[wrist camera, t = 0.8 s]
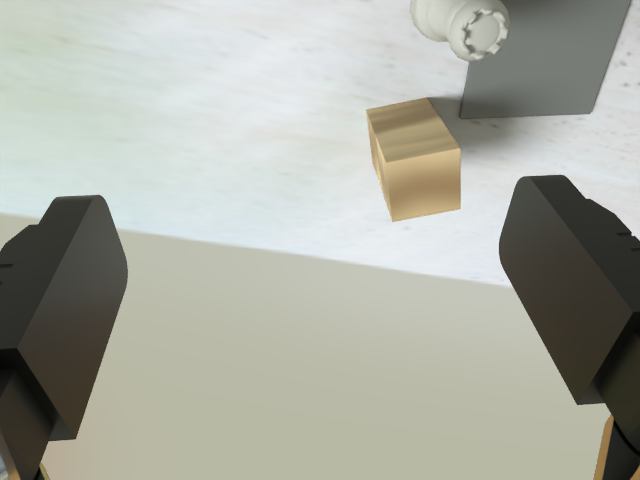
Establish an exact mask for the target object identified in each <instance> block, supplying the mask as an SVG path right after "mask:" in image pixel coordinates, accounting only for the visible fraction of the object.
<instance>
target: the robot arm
mask: <svg viewBox="0 0 640 480" xmlns="http://www.w3.org/2000/svg"><path fill="white" fill-rule="evenodd" d="M631 233H632V232H631V231H630V230H629V229H628V228H627V227H626V226H625V225H624V224H623V222H622V221H621V220H620V219H619V218H618V217H617V216H616V215H615V214H614V213H612V212H611V211H609V210H607V209H606V208H604V207H602V206H601V205H599V204H598V203H596V202H594V201H593V200H591V199H586V198H585V197H584V196H583V195H582V194H581V193H580V192H579V190H578V189H577V188H576V187H575V186H574V185H573V184H572V183H571V181H570V180H569V179H568V178H567V177H566V176H564V175H546V176H525V177H522V178H520V179H519V181H518V182H517V184H516V186H515V189H514V192H513V196H512V199H511V202H510V206H509V209H508V213H507V216H506V219H505V223H504V226H503V229H502V233H501V236H500V241H499V256H500V261H501V264H502V267H503V269H504V271H505V273H506V274H507V276H508V278H509V280H510V282H511V284H512V286H513V287H514V289H515V291H516V293H517V295H518V297H519V298H520V300H521V302H522V304H523V306H524V308H525V310H526V311H527V313H528V315H529V317H530V319H531V320H532V322H533V324H534V326H535V328H536V330H537V331H538V333H539V335H540V337H541V339H542V341H543V343H544V344H545V346H546V348H547V350H548V352H549V354H550V356H551V357H552V359H553V361H554V363H555V365H556V367H557V369H558V370H559V372H560V374H561V376H562V378H563V379H564V381H565V383H566V385H567V387H568V389H569V391H570V392H571V394H572V396H573V398H574V400H575V402H576V403H577V405H583V404H598V403H605V404H606V405H607V407H608V409H609V411H610V412H611V415H610V417H609V418H608V420H607V421H606V423H605V427H604V431H603V435H602V441H601V445H600V450H599V455H598V460H597V465H596V470H595V474H594V479H593V480H640V241H639V240H638V239H637V238H636V237H635V236H632V235H631ZM127 278H128V269H127V261H126V257H125V254H124V251H123V248H122V245H121V242H120V239H119V236H118V233H117V231H116V228H115V225H114V222H113V219H112V216H111V213H110V211H109V208H108V205H107V203H106V201H105V199H104V198H103V197H102V196H100V195H86V196H64V197H56V198H55V199H54V200H53V201H52V203H51V204H50V206H49V208H48V209H47V211H46V213H45V214H44V216H43V217H42V219H41V221H40V222H39V224H38V225H29V226H28V227H26V228H25V229H23V230H22V231H21V232H20V233H18V234H17V235H16V236H14V238H12V239H11V240H9V241H8V242H7V243H6V244H5V245H4V246H3V248H2V250H1V251H0V480H50V478H49V476H48V473H47V471H46V469H45V467H44V466H43V464H42V463H41V460H42V457H43V454H44V452H45V449H46V446H47V444H48V441H58V440H71V439H76V436H77V434H78V431H79V428H80V424H81V422H82V419H83V416H84V413H85V410H86V407H87V403H88V400H89V397H90V395H91V392H92V389H93V385H94V383H95V380H96V376H97V374H98V371H99V367H100V364H101V361H102V358H103V355H104V352H105V349H106V346H107V343H108V340H109V337H110V334H111V331H112V328H113V325H114V322H115V319H116V316H117V313H118V310H119V307H120V304H121V301H122V298H123V295H124V292H125V289H126V285H127Z"/></svg>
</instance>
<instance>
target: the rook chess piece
mask: <svg viewBox="0 0 640 480" xmlns="http://www.w3.org/2000/svg"><path fill="white" fill-rule="evenodd" d="M410 13H411V17H412V20H413V23H414V26H415V27H416V28H417V29H418V30H419V31H420V32H421V34H422V35H425V36H426V37H427V38H429V39H432V40H434V41H437V42H448V41H449V43H450V47H451V50H452V51H453V52H454V53H455V54H456V56H457V57H458V58H461V59H463V60H466V61H480V60H486V59H485V58H487V57H489V56H491V55H492V54H493V55H494V56H495V55H496V54H497V53H498V52H499V51H500V50H501V49H502V48H501V45H502V44H503V42H504V40H505V39H508V36H509V31H510V29H509V25H510V20H509V14H508V10H507V9H506V7H505V6H504V5H503V3H502V2H501V1H499V0H411V6H410Z"/></svg>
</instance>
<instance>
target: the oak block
mask: <svg viewBox="0 0 640 480" xmlns="http://www.w3.org/2000/svg"><path fill="white" fill-rule="evenodd" d="M366 114H367V122H368V129H369V137H370V145H371V153H372V160H373V165H374V168H375V171H376V174H377V177H378V180H379V183H380V186H381V189H382V192H383V195H384V198H385V201H386V204H387V207H388V210H389V213H390V216H391V219H392V222H395V221H401V220H406V219H411V218H416V217H421V216H427V215H432V214H437V213H442V212H448V211H453V210H458V209H461V180H460V147H459V145H458V144H457V142H456V141H455V139H454V138H453V136H452V135H451V133H450V131H449V130H448V128H447V127H446V125H445V124H444V122H443V121H442V119H441V118H440V116H439V115H438V113H437V112H436V110H435V109H434V107H433V106H432V104H431V103H430V101H429V100H428V98H422V99H417V100H412V101H407V102H402V103H397V104H393V105H388V106H383V107H378V108H373V109H368V110H366Z"/></svg>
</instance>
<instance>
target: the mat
mask: <svg viewBox="0 0 640 480" xmlns="http://www.w3.org/2000/svg"><path fill="white" fill-rule="evenodd" d="M499 1H501V2H502V3H503V5H504V6H505V7H506V9H507V10H508V14H509V20H510V25H509V29H510V31H509V36H508V39H505V40H504V42H503V44H502V45H501V48H502V49H501V50H500V51H499V52H498V53H497V54H496V55H495V56H494V55H493V54H492V55H491V56H489V57H487V58H485V59H486V60H480V61H470V62H469V67H468V73H467V78H466V84H465V89H464V95H463V100H462V106H461V111H460V119H472V118H498V117H525V116H551V115H578V114H590V113H591V110H592V108H593V105H594V102H595V99H596V96H597V93H598V91H599V88H600V85H601V82H602V79H603V77H604V74H605V71H606V68H607V65H608V62H609V60H610V57H611V54H612V51H613V48H614V46H615V43H616V40H617V37H618V34H619V31H620V29H621V26H622V23H623V20H624V17H625V15H626V12H627V9H628V6H629V3H630V0H499Z"/></svg>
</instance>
